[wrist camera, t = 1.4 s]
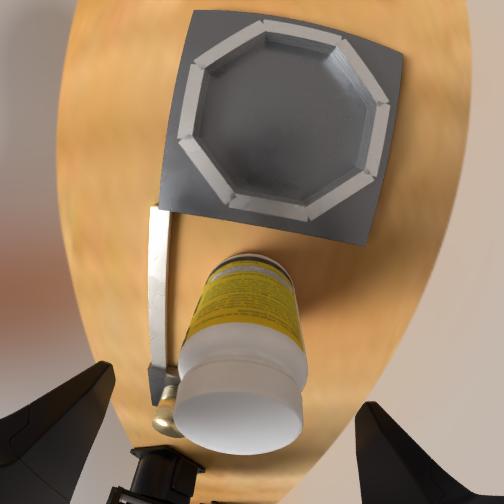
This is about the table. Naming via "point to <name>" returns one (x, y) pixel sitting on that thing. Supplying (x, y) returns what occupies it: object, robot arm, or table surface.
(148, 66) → the table surface
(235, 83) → the grey handled tray
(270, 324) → the supplement bottle
